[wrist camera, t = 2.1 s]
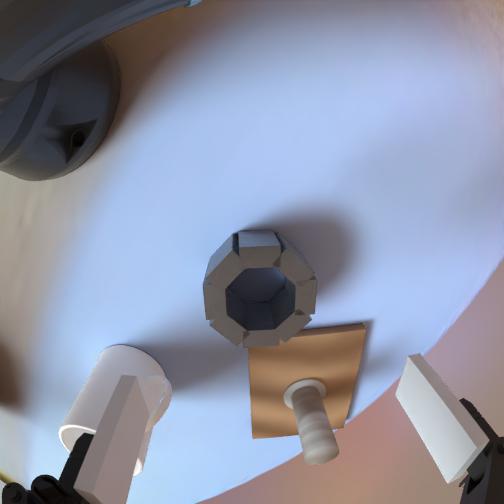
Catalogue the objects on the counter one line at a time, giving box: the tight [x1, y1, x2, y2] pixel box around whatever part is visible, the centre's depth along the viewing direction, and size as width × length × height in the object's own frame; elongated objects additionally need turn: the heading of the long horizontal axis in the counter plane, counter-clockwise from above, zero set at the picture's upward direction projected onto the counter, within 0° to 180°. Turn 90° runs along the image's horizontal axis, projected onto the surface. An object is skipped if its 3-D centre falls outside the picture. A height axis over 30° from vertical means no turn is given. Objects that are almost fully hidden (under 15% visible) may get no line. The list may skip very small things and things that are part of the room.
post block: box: [248, 324, 366, 465], centre depth 26 cm, size 16×12×10 cm
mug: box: [59, 345, 172, 476], centre depth 23 cm, size 12×8×12 cm
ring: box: [203, 230, 317, 348], centre depth 24 cm, size 8×8×5 cm
